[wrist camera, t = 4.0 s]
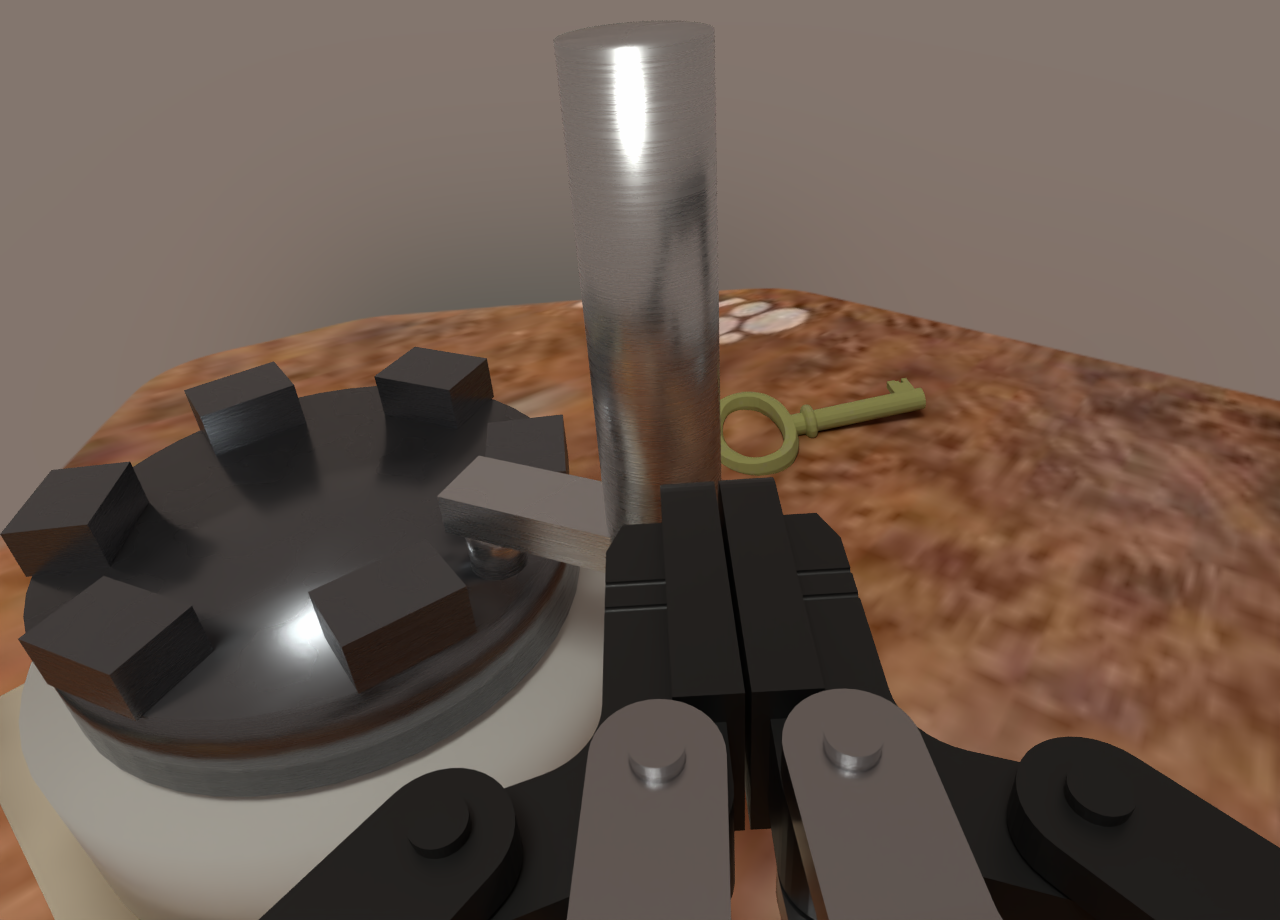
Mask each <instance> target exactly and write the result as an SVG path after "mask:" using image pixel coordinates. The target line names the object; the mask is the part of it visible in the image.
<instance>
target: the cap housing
mask: <svg viewBox="0 0 1280 920" xmlns="http://www.w3.org/2000/svg"><path fill="white" fill-rule="evenodd" d="M604 614H605V573H603V572H599V571H595V570H591V569H588V568H584V567H580V571H579V577H578V584H577V590H576V594H575V597H574V600H573V603H572V605H571V608H570V611H569V614H568V616H567V618H566V620H565V622H564V624H563V626H562V627H561V629H560V631H559V633H558V635H557V637H556V639H555V640H554V641H553V643H552V644H551V646H550V647H549V648H548V650H547V651H546V652H545V654H544V655H543V656H542V658H541V659H540V661H539V662H538V663H537V664H536V665H535V666H534V668H533V669H532V670H531V671H530V672H529V673H528V674H527V675H526V676H525V677H524V678H523V679H522V680H521V681H520V682H519V683H518V685H517V686H516V687H515V688H514V689H512V690H511V691H510V692H509V693H508V694H506V695H505V696H504V697H503V698H502V699H501V700H499V701H498V702H497V703H496V704H495V705H493V706H492V707H491V708H490V709H489V710H488V711H486V712H485V713H483V714H482V715H480V716H479V717H478V718H476V719H475V720H473V721H472V722H470V723H469V724H467V725H466V726H464V727H463V728H461V729H460V730H458V731H457V732H456V733H454V734H452V735H450V736H449V737H447V738H445V739H443V740H441V741H439V742H438V743H436V744H434V745H432V746H430V747H428V748H427V749H425V750H423V751H421V752H419V753H417V754H415V755H413V756H410V757H408V758H406V759H403V760H401V761H399V762H396V763H394V764H392V765H389V766H387V767H385V768H382V769H380V770H377V771H374V772H371V773H368V774H365V775H362V776H359V777H355V778H352V779H349V780H346V781H343V782H340V783H336V784H332V785H327V786H322V787H318V788H313V789H309V790H304V791H299V792H293V793H284V794H275V795H266V796H257V797H215V796H208V795H200V794H193V793H185V792H179V791H175V790H172V789H168V788H165V787H161V786H158V785H154V784H151V783H147V782H145V781H143V780H141V779H139V778H137V777H135V776H133V775H131V774H129V773H127V772H125V771H123V770H121V769H120V768H118V767H117V766H116V765H114V764H113V763H112V762H110V761H109V760H108V759H107V758H105V757H104V756H103V755H101V754H100V753H99V752H98V751H97V749H96V748H95V747H94V746H93V744H92V743H91V742H90V741H89V739H88V738H87V737H86V736H85V735H84V733H83V732H82V730H81V729H80V727H79V725H78V724H77V722H76V721H75V719H74V718H73V716H72V715H71V713H70V711H69V710H68V708H67V707H66V705H65V704H64V702H63V701H62V699H61V698H60V696H59V694H58V693H57V691H56V690H55V688H54V687H53V686H50V685H48V684H47V683H46V681H45V680H44V678H43V677H42V675H41V674H40V672H39V670H38V669H37V667H36V666H35V664H34V663H33V661H32V663H31V665H30V668H29V672H28V675H27V678H26V681H25V685H24V688H23V691H22V696H21V705H20V714H19V730H20V739H21V748H22V752H23V755H24V758H25V760H26V763H27V766H28V768H29V771H30V774H31V776H32V778H33V780H34V781H35V783H36V784H37V785H38V787H39V788H40V790H41V791H42V793H43V794H44V795H45V797H46V798H47V800H48V801H49V803H50V804H51V805H52V807H53V808H54V809H55V811H56V812H57V813H58V815H59V816H60V818H61V819H62V820H63V822H64V823H65V824H66V826H67V827H68V829H69V830H70V831H71V833H72V834H73V835H74V837H75V838H76V840H77V841H78V842H79V844H80V845H81V846H82V848H83V849H84V851H85V852H86V853H87V855H88V856H89V857H90V859H91V860H92V861H93V863H94V864H95V866H96V867H97V868H98V870H99V871H100V872H101V874H102V875H103V877H104V878H105V879H106V881H107V882H108V883H109V885H110V886H111V888H112V889H113V890H114V892H115V893H116V894H117V896H118V897H119V899H120V900H121V901H122V903H123V904H124V905H125V906H126V907H127V908H128V909H129V910H130V911H132V912H133V913H134V914H135V915H136V916H137V917H138V918H139V919H140V920H259V919H260V918H261V917H262V916H263V915H264V914H265V913H266V912H267V911H268V910H269V909H270V908H272V907H273V906H274V905H275V904H276V903H277V902H278V901H279V900H280V899H281V898H282V897H283V896H284V895H285V894H287V893H288V892H289V891H290V890H291V889H292V888H293V887H294V886H295V885H296V884H297V883H298V882H299V881H300V880H302V879H303V878H304V877H305V876H306V875H307V874H308V873H309V872H310V871H311V870H312V869H313V868H314V867H316V866H317V865H318V864H319V863H320V862H321V861H322V860H323V859H324V858H325V857H326V856H327V855H328V854H329V853H331V852H332V851H333V850H334V849H335V848H336V847H337V846H338V845H339V844H340V843H341V842H342V841H343V840H345V839H346V838H347V837H348V836H349V835H350V834H351V833H352V832H353V831H354V830H355V829H356V828H357V827H358V826H360V825H361V824H362V823H363V822H364V821H365V820H366V819H367V818H368V817H369V816H370V815H371V814H372V813H374V812H375V811H376V810H377V809H378V808H379V807H380V806H381V805H382V804H383V803H384V802H385V801H386V800H387V799H389V798H390V797H391V796H392V795H393V794H394V793H395V792H396V791H398V790H399V789H400V788H401V787H403V786H404V785H406V784H407V783H409V782H410V781H412V780H414V779H415V778H418V777H420V776H422V775H424V774H427V773H430V772H433V771H436V770H441V769H447V768H467V769H473V770H477V771H480V772H483V773H485V774H487V775H489V776H490V777H492V778H494V779H495V780H496V781H497V782H499V783H500V784H501V785H502V786H503V788H507V787H509V786H512V785H515V784H518V783H520V782H523V781H526V780H529V779H532V778H534V777H537V776H540V775H543V774H545V773H547V772H550V771H552V770H554V769H556V768H558V767H560V766H561V765H563V764H565V763H567V762H568V761H569V760H571V759H572V758H573V757H574V756H576V755H577V754H578V753H579V752H580V751H581V750H582V749H583V748H584V747H585V746H586V744H587V743H588V742H589V740H590V739H591V737H592V736H593V734H594V732H595V730H596V728H597V726H598V723H599V720H600V717H601V710H602V687H603V648H604Z"/></svg>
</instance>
